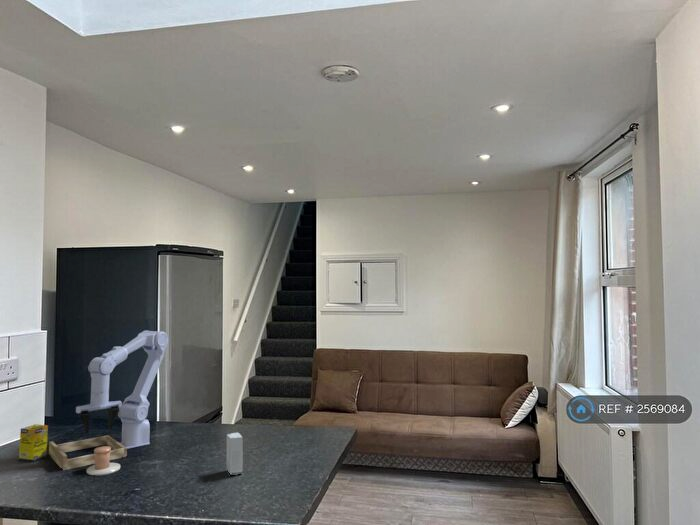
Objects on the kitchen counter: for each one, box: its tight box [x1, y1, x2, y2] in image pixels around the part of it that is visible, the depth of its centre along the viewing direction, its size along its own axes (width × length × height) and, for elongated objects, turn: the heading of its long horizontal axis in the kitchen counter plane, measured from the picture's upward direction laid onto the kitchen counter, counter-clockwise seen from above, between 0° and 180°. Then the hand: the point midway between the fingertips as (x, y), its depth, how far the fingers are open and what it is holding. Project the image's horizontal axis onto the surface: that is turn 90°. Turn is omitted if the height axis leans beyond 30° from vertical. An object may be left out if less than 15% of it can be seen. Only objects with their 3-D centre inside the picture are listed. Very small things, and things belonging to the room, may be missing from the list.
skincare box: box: [226, 432, 244, 474], centre depth 161 cm, size 6×4×12 cm
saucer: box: [86, 462, 121, 477], centre depth 161 cm, size 10×10×1 cm
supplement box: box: [18, 423, 49, 463], centre depth 170 cm, size 6×6×11 cm
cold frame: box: [48, 434, 128, 471], centre depth 174 cm, size 20×20×4 cm
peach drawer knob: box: [93, 445, 112, 470], centre depth 161 cm, size 5×5×6 cm
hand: (98, 430), depth 173 cm, fingers open, 7 cm apart
